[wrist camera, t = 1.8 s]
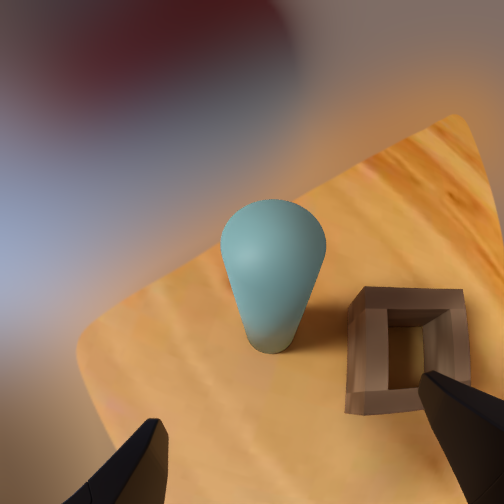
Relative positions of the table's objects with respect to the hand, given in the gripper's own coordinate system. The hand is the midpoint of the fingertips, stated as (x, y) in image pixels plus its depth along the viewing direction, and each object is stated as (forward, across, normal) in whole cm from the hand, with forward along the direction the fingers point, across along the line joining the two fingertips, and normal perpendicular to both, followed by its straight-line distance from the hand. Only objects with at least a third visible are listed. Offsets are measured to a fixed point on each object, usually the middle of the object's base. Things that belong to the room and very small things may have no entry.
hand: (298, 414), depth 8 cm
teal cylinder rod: (+12, 0, +4) cm, 13 cm away
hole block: (+10, -9, +7) cm, 15 cm away
